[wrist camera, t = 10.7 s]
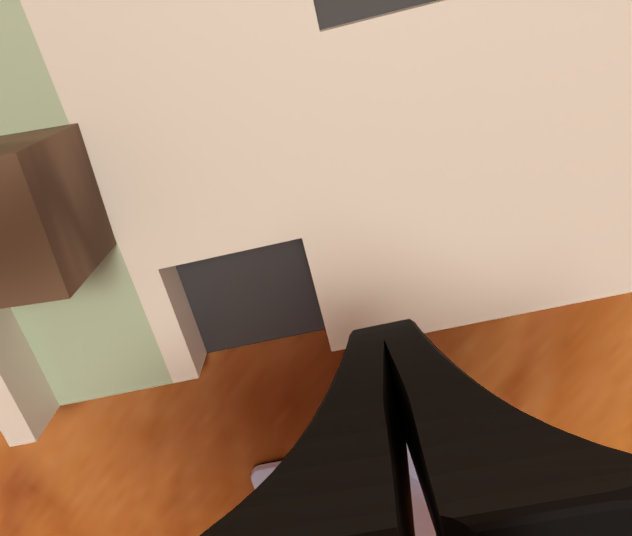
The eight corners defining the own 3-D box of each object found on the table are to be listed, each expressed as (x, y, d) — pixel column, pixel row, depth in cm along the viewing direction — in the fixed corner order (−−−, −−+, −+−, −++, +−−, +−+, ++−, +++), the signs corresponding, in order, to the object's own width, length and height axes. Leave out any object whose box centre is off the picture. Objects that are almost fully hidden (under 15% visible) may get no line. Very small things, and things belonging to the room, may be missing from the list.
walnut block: (116, 243, 19) (69, 298, 16) (1, 261, 20) (-71, 319, 16) (78, 122, 18) (15, 153, 14) (-47, 143, 18) (-140, 178, 14)
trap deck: (700, 248, 22) (779, 298, 18) (56, 379, 24) (10, 446, 20) (718, -258, 16) (843, -341, 12) (-140, -16, 18) (-256, -23, 14)
